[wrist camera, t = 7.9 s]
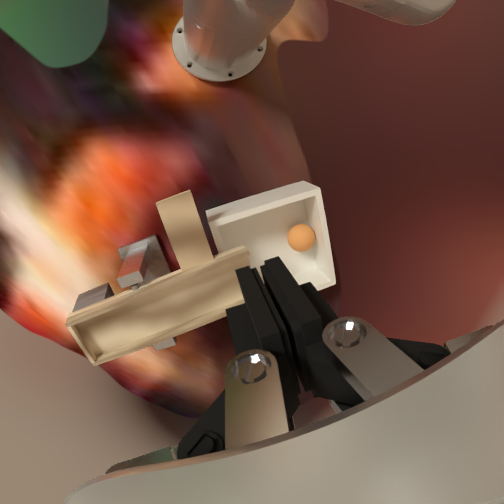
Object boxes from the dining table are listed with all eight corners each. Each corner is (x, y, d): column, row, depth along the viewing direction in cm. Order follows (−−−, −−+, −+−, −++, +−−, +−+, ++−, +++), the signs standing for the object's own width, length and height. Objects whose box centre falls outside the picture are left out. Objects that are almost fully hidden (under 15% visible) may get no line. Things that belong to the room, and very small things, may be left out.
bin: (205, 210, 41) (208, 222, 36) (303, 180, 42) (320, 187, 37) (234, 297, 47) (241, 318, 41) (320, 267, 48) (336, 283, 43)
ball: (310, 229, 39) (313, 217, 43) (282, 232, 41) (287, 221, 44) (315, 255, 41) (318, 242, 44) (288, 258, 42) (292, 245, 46)
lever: (49, 242, 33) (31, 262, 26) (213, 174, 38) (228, 180, 31) (100, 337, 39) (95, 368, 33) (246, 279, 44) (264, 303, 38)
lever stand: (118, 247, 40) (102, 276, 31) (155, 233, 41) (148, 260, 32) (153, 318, 45) (148, 357, 37) (187, 308, 46) (189, 346, 37)
